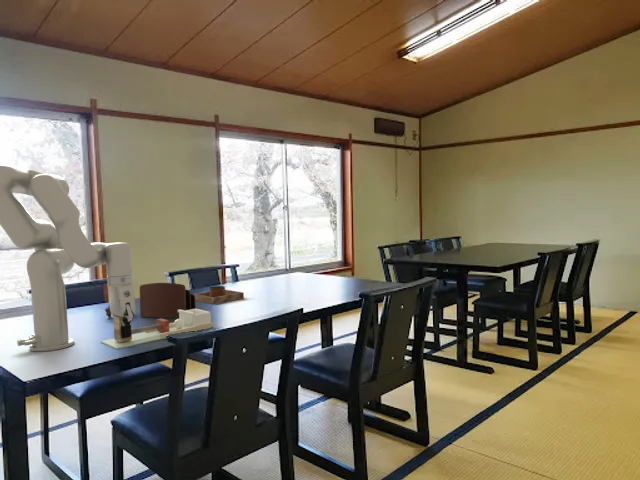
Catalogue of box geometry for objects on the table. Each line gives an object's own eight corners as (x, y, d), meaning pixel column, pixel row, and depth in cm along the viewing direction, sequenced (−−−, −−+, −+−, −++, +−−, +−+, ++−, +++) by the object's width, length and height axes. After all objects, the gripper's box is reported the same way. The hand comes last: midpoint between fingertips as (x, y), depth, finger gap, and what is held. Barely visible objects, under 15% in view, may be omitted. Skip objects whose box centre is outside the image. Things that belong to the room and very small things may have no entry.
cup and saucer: (235, 298, 233) (234, 285, 233) (220, 303, 222) (219, 289, 222) (215, 297, 238) (214, 284, 238) (199, 301, 228) (198, 288, 227)
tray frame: (213, 304, 219) (213, 297, 218) (193, 300, 230) (192, 294, 230) (243, 298, 231) (243, 292, 230) (223, 295, 243) (222, 289, 242)
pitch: (116, 349, 150) (115, 329, 150) (100, 342, 159) (99, 323, 158) (212, 327, 175) (212, 310, 175) (195, 322, 184) (194, 306, 183)
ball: (177, 330, 170) (176, 320, 169) (172, 329, 172) (171, 319, 172) (186, 328, 172) (185, 318, 172) (181, 327, 175) (180, 317, 175)
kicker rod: (120, 342, 155) (119, 317, 154) (114, 339, 158) (112, 315, 158) (169, 331, 167) (168, 308, 166) (162, 329, 170) (161, 307, 170)
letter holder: (186, 318, 193) (184, 283, 192) (139, 317, 196) (138, 283, 195) (196, 312, 203) (194, 279, 202) (152, 312, 206) (150, 279, 205)
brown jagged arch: (129, 320, 193) (116, 304, 191) (110, 330, 195) (98, 314, 192) (141, 307, 204) (129, 291, 202) (123, 316, 206) (111, 301, 204)
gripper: (142, 281, 153) (145, 338, 155) (120, 277, 165) (124, 330, 166) (118, 284, 148) (122, 343, 149) (98, 280, 160) (101, 334, 161)
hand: (123, 335), depth 158 cm, fingers closed on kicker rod, 4 cm apart
